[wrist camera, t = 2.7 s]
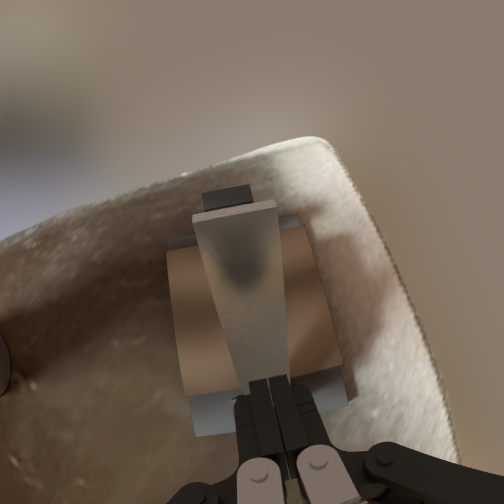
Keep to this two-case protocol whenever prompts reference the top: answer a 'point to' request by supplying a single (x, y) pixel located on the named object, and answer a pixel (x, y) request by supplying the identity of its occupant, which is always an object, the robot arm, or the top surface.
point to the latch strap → (247, 286)
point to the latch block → (212, 337)
